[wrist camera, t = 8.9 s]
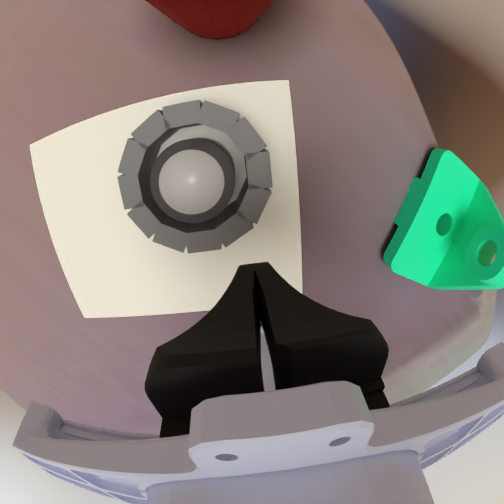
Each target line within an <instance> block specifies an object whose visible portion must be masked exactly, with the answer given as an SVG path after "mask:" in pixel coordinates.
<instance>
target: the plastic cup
mask: <svg viewBox="0 0 504 504" xmlns="http://www.w3.org/2000/svg"><path fill="white" fill-rule="evenodd" d="M145 1H147V2H148V3H150V4H151V5H153V6H154V7H155V8H157V9H158V10H159V11H161V12H162V13H163V14H165V15H166V16H167V17H169V18H170V19H171V20H173V21H174V22H175V23H177V24H179V25H181V26H183V27H184V28H185V29H186V30H187V31H189V32H191V33H194V34H196V35H198V36H200V37H203V38H210V39H223V38H229V37H234V36H236V35H238V34H240V33H242V32H244V31H246V30H248V29H249V28H250V27H251V26H252V25H253V24H254V23H255V22H256V21H257V20H258V18H259V17H260V16H261V14H262V13H263V12H264V11H265V10H266V9H267V8H268V7H269V6H270V5H271V4H272V3H273V2H274V1H275V0H145Z"/></svg>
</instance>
